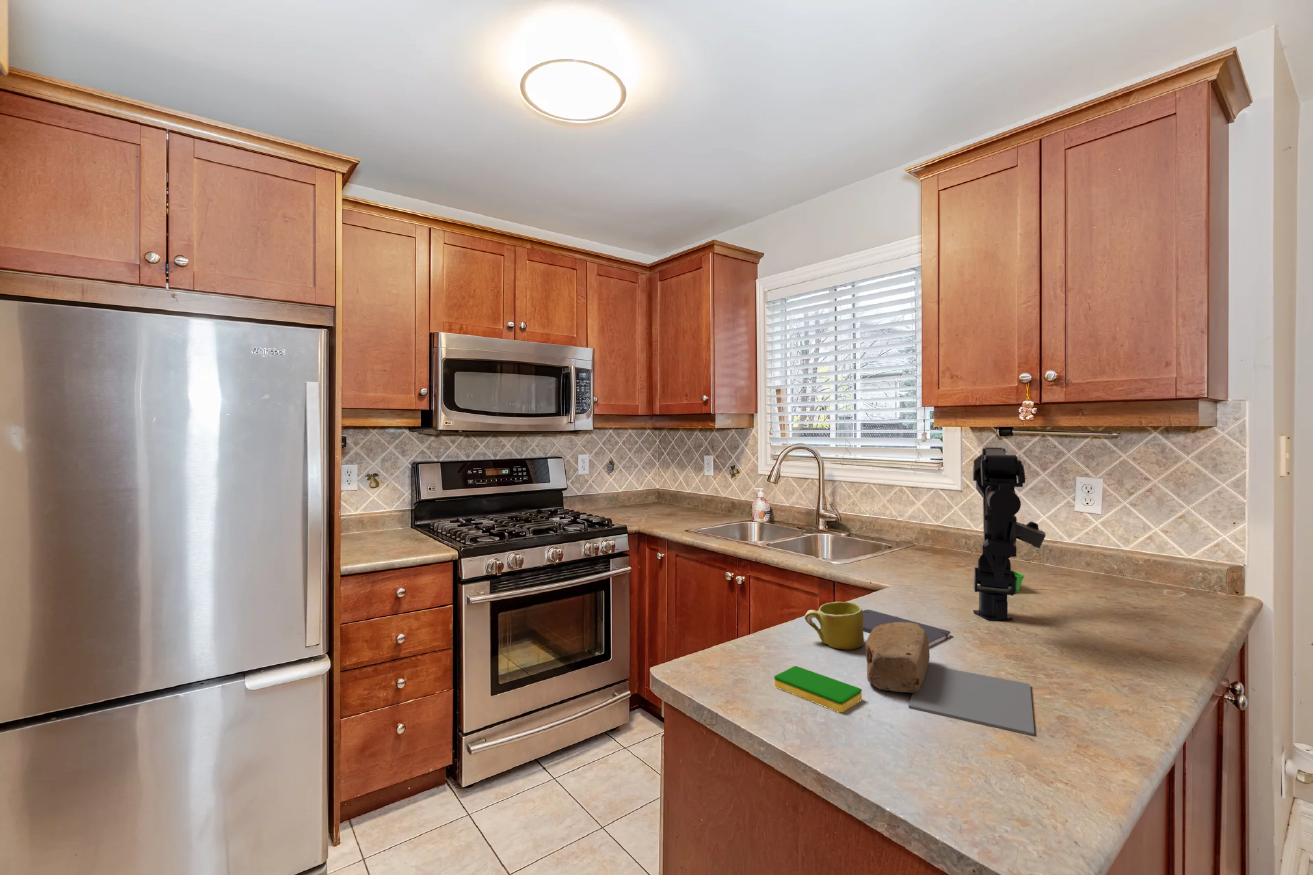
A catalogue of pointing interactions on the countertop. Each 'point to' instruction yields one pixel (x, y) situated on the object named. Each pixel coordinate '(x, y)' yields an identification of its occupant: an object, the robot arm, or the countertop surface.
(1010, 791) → the countertop surface
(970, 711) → the mat
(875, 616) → the notebook
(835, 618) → the mug
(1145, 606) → the countertop surface
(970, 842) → the countertop surface
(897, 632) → the brown rough stone
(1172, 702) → the countertop surface
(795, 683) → the dish sponge
